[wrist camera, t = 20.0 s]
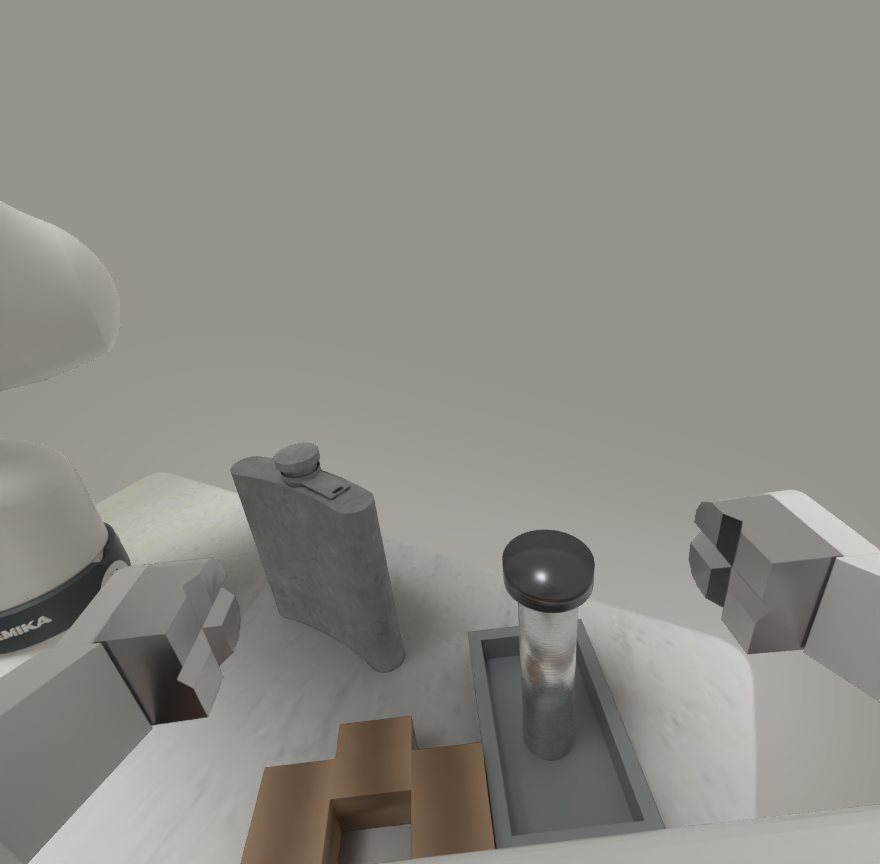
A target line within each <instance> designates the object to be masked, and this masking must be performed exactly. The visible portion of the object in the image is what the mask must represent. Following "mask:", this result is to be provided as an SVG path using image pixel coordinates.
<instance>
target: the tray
mask: <svg viewBox="0 0 880 864" xmlns="http://www.w3.org/2000/svg"><path fill="white" fill-rule="evenodd" d="M468 636H469V646H470V655H471V663H472V671H473V679H474V686H475V694H476V702H477V709H478V717H479V725H480V733H481V740H482V748H483V756H484V763H485V771H486V779H487V787H488V794H489V802H490V810H491V818H492V825H493V833H494V841H495V848H496V849H500V848H509V847H517V846H526V845H534V844H543V843H551V842H559V841H568V840H576V839H585V838H593V837H602V836H611V835H619V834H628V833H636V832H645V831H653V830H662V829H665V827H664V824H663V822H662V819H661V817H660V814H659V812H658V809H657V807H656V804H655V802H654V799H653V797H652V794H651V792H650V789H649V787H648V784H647V782H646V779H645V777H644V774H643V772H642V769H641V767H640V764H639V762H638V759H637V757H636V755H635V752H634V750H633V747H632V745H631V742H630V740H629V737H628V735H627V732H626V730H625V727H624V725H623V722H622V720H621V717H620V715H619V712H618V710H617V707H616V705H615V702H614V700H613V697H612V695H611V692H610V690H609V687H608V685H607V682H606V680H605V677H604V675H603V672H602V670H601V667H600V665H599V662H598V660H597V657H596V655H595V652H594V650H593V647H592V645H591V642H590V640H589V637H588V635H587V632H586V630H585V627H584V625H583V622H582V620H581V619H577V642H576V666H575V690H574V714H573V738H572V746H571V749H570V751H569V752H568V754H567V755H566V756H565V757H563V758H561V759H559V760H556V761H546V760H543V759H540V758H538V757H537V756H535V755H534V754H533V753H532V752H531V751H530V750H529V749H528V747H527V745H526V743H525V741H524V736H523V714H522V689H521V665H520V640H519V626H515V627H507V628H498V629H489V630H481V631H472V632H468Z"/></svg>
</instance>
